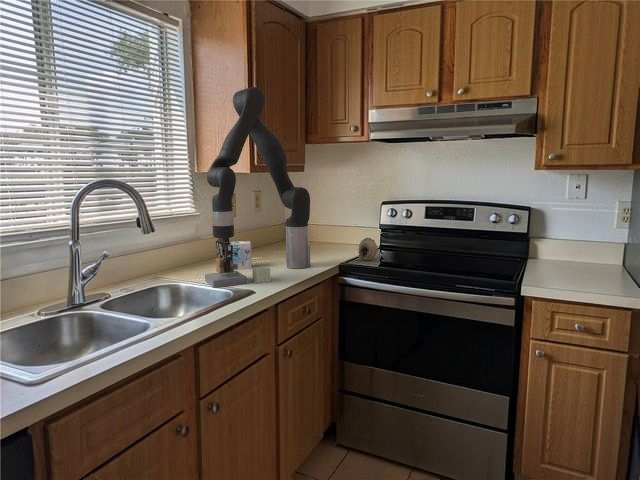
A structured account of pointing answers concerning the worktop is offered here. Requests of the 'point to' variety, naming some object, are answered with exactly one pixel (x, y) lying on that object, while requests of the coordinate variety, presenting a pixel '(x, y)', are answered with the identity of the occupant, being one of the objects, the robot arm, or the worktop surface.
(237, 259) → the light bulb box
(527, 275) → the worktop surface
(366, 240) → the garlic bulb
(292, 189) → the robot arm
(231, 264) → the walnut block
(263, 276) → the green block
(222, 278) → the slate base
